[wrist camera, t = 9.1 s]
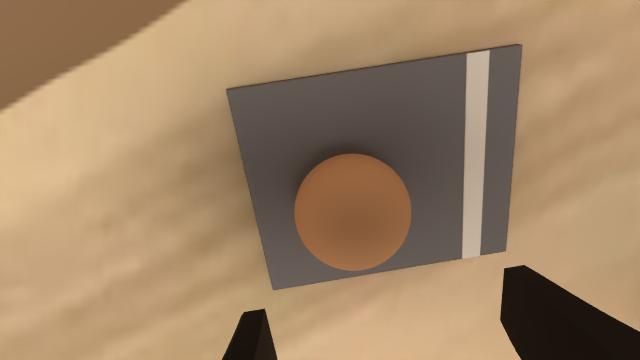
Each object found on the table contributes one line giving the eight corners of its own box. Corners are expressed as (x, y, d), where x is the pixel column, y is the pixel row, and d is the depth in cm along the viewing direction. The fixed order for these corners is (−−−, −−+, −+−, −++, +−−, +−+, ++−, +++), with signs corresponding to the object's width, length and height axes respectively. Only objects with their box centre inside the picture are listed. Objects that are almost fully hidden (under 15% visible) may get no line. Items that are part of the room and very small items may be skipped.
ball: (390, 129, 19) (427, 173, 14) (396, 221, 21) (429, 284, 16) (284, 147, 19) (286, 196, 14) (300, 237, 21) (307, 305, 16)
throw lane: (518, 44, 18) (523, 45, 18) (503, 247, 23) (506, 252, 22) (227, 89, 18) (225, 90, 17) (272, 286, 22) (273, 291, 22)
